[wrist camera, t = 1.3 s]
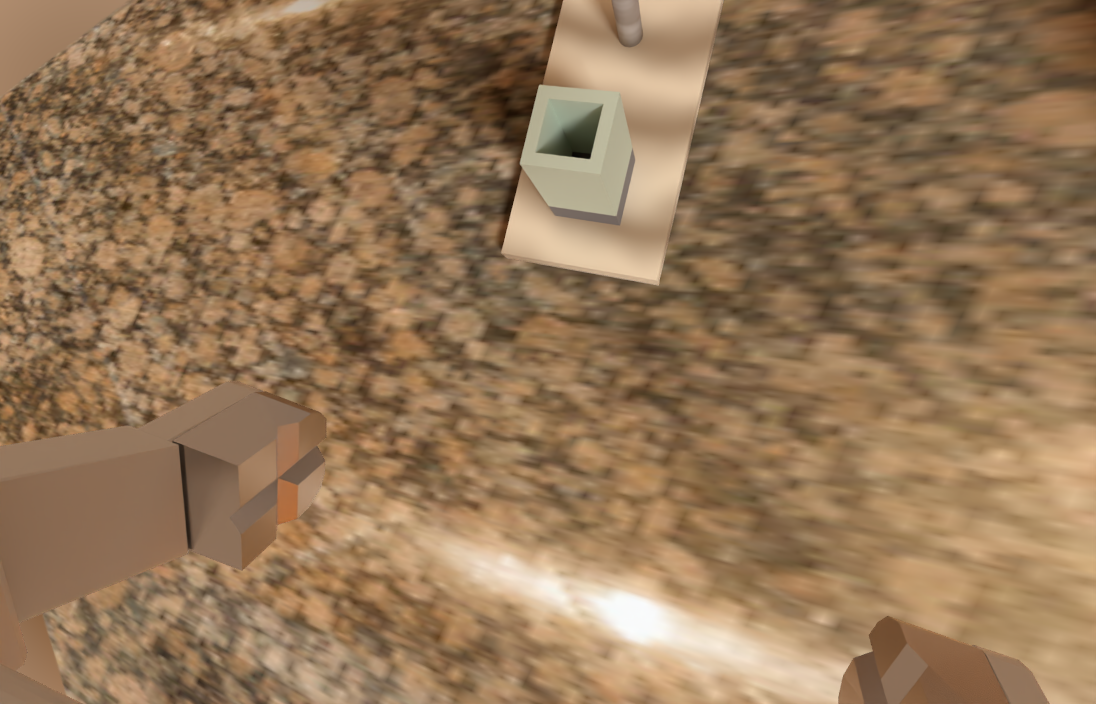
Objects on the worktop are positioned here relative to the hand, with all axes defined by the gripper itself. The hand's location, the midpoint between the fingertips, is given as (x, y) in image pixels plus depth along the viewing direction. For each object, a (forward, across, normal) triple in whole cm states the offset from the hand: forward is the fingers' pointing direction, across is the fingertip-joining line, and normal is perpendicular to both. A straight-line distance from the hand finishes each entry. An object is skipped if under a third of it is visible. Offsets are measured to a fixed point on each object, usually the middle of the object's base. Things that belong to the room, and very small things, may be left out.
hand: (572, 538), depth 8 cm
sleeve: (+37, +7, +1) cm, 37 cm away
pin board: (+41, +7, -4) cm, 42 cm away
